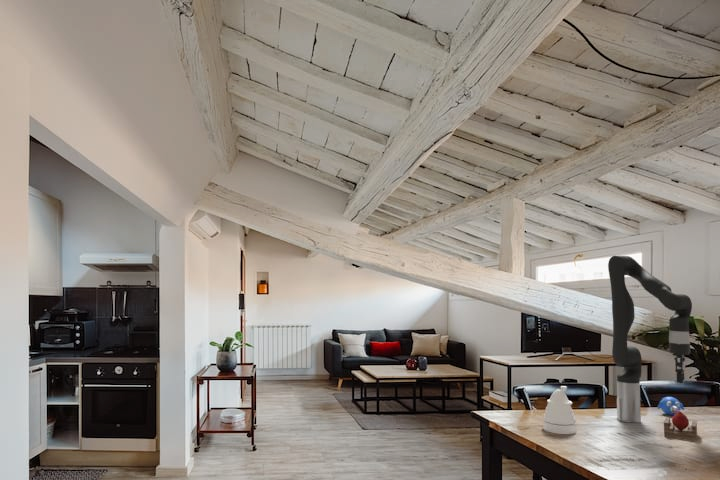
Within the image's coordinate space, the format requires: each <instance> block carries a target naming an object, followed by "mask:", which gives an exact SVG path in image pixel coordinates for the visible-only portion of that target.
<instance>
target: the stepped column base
mask: <svg viewBox="0 0 720 480" xmlns="http://www.w3.org/2000/svg"><path fill="white" fill-rule="evenodd" d="M663 437H665V438H670V439H671V438H672V439H679V440H684V439H686V440H685V441H691V440H692V442H697V439H698V421H697V420H692V421H691V424H689V425H688V427H687V428H685V429H684V430H682V431H680V430H678V429H677V428H676V427H675V426H674V425H673V423H672V422H671V417H668V416H667V417H665V418H664V421H663Z"/></svg>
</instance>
